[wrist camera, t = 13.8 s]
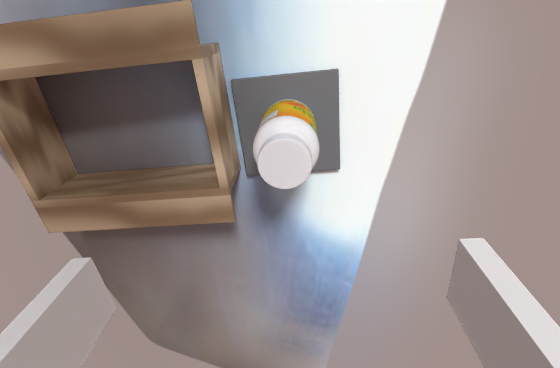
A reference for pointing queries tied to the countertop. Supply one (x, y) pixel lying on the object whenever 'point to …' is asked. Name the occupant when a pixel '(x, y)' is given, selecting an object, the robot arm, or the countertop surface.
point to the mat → (298, 86)
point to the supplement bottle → (286, 144)
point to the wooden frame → (127, 183)
